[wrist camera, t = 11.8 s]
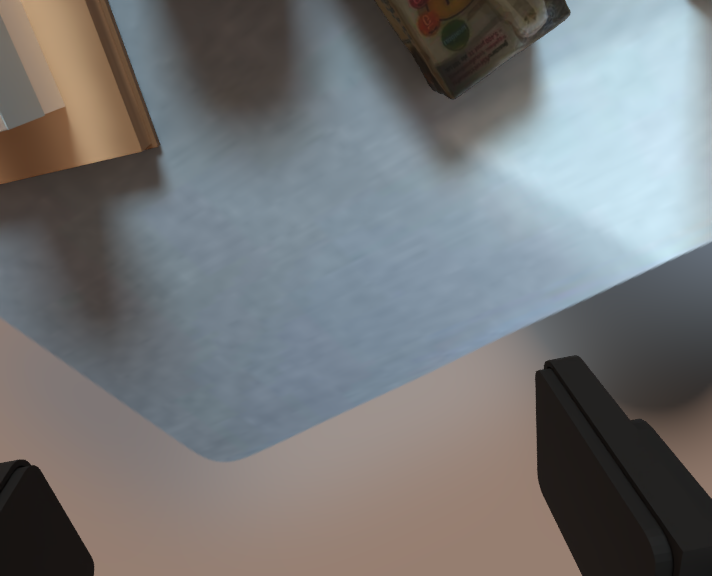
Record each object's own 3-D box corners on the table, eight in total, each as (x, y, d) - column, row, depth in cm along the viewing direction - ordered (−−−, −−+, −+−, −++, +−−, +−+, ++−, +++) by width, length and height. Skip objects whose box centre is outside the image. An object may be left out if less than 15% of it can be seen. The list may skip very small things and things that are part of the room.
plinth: (73, -95, 29) (51, -106, 26) (160, 144, 34) (149, 155, 32) (-165, -41, 29) (-212, -47, 26) (-39, 190, 34) (-66, 205, 32)
